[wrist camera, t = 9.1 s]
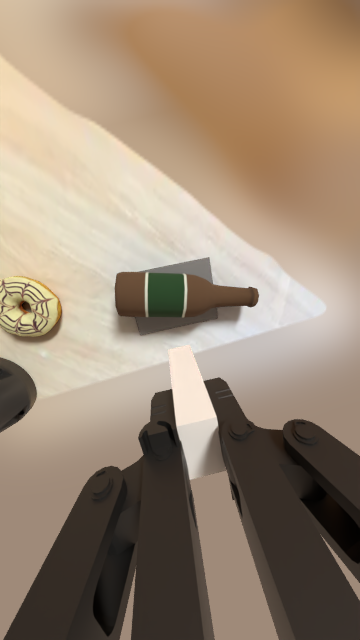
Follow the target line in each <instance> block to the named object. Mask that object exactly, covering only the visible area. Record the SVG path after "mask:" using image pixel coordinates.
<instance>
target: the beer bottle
mask: <svg viewBox="0 0 360 640" xmlns="http://www.w3.org/2000/svg"><path fill="white" fill-rule="evenodd" d="M258 297H259V294H258V290H257V289H256V288H252V287H249V288H238V287H227V286H218V285H214V284H212V283H210V282H209V281H208V280H206V279H204V278H201V277H199V276H196V275H191V274H177V273H150V272H121V273H118V274H117V276H116V283H115V302H116V308H117V311H118V314H119V315H120V316H128V317H195V316H198V315H201V314H204V313H205V312H207V311H208V310H210V309H211V308H216V307H226V306H248V307H253V306H255V305H256V304H257V303H258Z"/></svg>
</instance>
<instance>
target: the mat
mask: <svg viewBox="0 0 360 640" xmlns="http://www.w3.org/2000/svg"><path fill="white" fill-rule="evenodd" d="M140 272H150V273H177V274H191V275H196V276H199V277H201V278H204V279H206V280H208V281H209V282H210V283H212V284H213V280H212V273H211V266H210V259H209V257H208V258H203V259H198V260H194V261H189V262H184V263H179V264H174V265H169V266H164V267H159V268H154V269H150V270H145V271H140ZM135 318H136V321H137V325H138V329H139V332H140V335H143V334H148V333H152V332H157V331H162V330H166V329H171V328H175V327H180V326H185V325H189V324H194V323H198V322H203V321H207V320H212V319H217V318H218V315H217V308H211V309H210V310H208V311H207V312H205V313H204V314H201V315H198V316H195V317H135Z"/></svg>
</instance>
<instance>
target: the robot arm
mask: <svg viewBox="0 0 360 640" xmlns="http://www.w3.org/2000/svg"><path fill="white" fill-rule="evenodd" d="M168 354H169V363H170V372H171V382H172V389H170V390H166V391H162V392H158V393H155V395H154V397H153V399H152V400H151V417H150V422H149V423H148V424H146V425H145V426H144V427H143V429H142V430H141V432H140V434H139V437H138V438H139V442H140V445H141V447H142V451H143V454H144V455H143V456H142V457H141V458H140V459H139V460H138V461H137V462H135V463H134V464H132V465H131V466H129V467H127V468H126V469H124V470H122V471H121V470H120V469H119V468H118V467H114V466H109V467H104V468H102V469H101V470H99V471H97V472H96V473H95V474H94V475H93V476H91V477H90V478H89V480H88V481H87V483H86V484H85V486H84V487H83V489H82V491H81V493H80V495H79V497H78V499H77V501H76V502H75V504H74V506H73V508H72V510H71V512H70V514H69V516H68V518H67V520H66V521H65V523H64V525H63V527H62V529H61V531H60V533H59V535H58V537H57V539H56V540H55V542H54V544H53V546H52V548H51V550H50V552H49V554H48V556H47V558H46V559H45V561H44V563H43V565H42V567H41V569H40V571H39V573H38V575H37V577H36V578H35V580H34V582H33V584H32V586H31V588H30V590H29V592H28V594H27V596H26V598H25V599H24V602H23V603H22V605H21V607H20V609H19V611H18V613H17V615H16V617H15V619H14V620H13V622H12V624H11V626H10V628H9V630H8V632H7V634H6V636H5V637H4V640H119V639H120V635H121V630H122V626H123V621H124V617H125V613H126V608H127V604H128V599H129V594H130V590H131V586H132V581H133V577H134V573H135V568H136V577H135V592H134V605H133V619H132V634H131V640H215V639H214V633H213V626H212V619H211V612H210V606H209V599H208V592H207V586H206V579H205V572H204V566H203V559H202V552H201V546H200V540H199V532H198V526H197V519H196V513H195V506H194V499H193V494H192V490H191V486H190V480H191V479H195V478H198V477H202V476H206V475H210V474H214V473H218V472H222V471H226V470H227V473H228V476H229V481H230V487H231V493H232V499H233V500H235V503H236V506H237V508H238V512H239V515H240V518H241V522H242V525H243V528H244V531H245V534H246V537H247V540H248V544H249V547H250V550H251V553H252V556H253V559H254V562H255V566H256V569H257V572H258V575H259V578H260V581H261V584H262V588H263V591H264V594H265V597H266V600H267V603H268V606H269V610H270V612H271V616H272V619H273V622H274V625H275V628H276V632H277V634H278V638H279V640H360V601H359V599H358V597H357V596H356V594H355V592H354V591H353V589H352V587H351V586H350V584H349V582H348V581H347V579H346V577H345V575H344V574H343V572H342V570H341V569H340V567H339V565H338V564H337V562H336V560H335V558H334V557H333V555H332V553H331V552H330V550H329V549H328V547H327V545H326V543H325V542H324V540H323V538H324V539H325V540H326V542H327V543H328V544H329V545H330V547H331V548H332V549H333V550H334V552H335V553H336V554H337V555H338V557H339V558H340V559H341V560H342V561H343V563H344V564H345V565H346V566H347V568H348V569H349V570H350V571H351V573H352V574H353V575H354V576H355V578H356V579H357V580H358V581H359V583H360V456H359V455H357V454H356V453H355V452H353V451H352V450H350V449H349V448H348V447H347V446H345V445H344V444H342V443H341V442H340V441H338V440H337V439H336V438H334V437H333V436H332V435H330V434H329V433H327V432H326V431H325V430H323V429H322V428H321V427H319V426H317V425H315V424H314V423H312V422H309V421H306V420H300V419H299V420H298V419H294V420H291V421H288V422H287V423H286V424H285V425H284V427H283V430H271V429H263V428H260V427H257V426H255V425H254V424H253V422H251V421H249V420H248V419H247V418H246V417H245V415H244V413H243V411H242V409H241V408H240V406H239V404H238V402H237V400H236V399H235V397H234V396H233V393H232V392H231V390H230V388H229V386H228V384H227V383H226V382H225V381H224V380H222V379H221V378H215V379H210V380H206V381H203V379H202V377H201V374H200V371H199V368H198V366H197V363H196V361H195V358H194V355H193V353H192V350H191V347H190V345H186V346H182V347H177V348H173V349H168ZM35 399H36V388H35V385H34V382H33V380H32V379H31V377H30V376H29V374H28V373H27V372H26V371H25V370H24V369H23V368H21V367H20V366H18V365H17V364H15V363H13V362H11V361H9V360H6V359H3V358H0V432H2V431H4V430H5V429H7V428H8V427H10V426H12V425H13V424H15V423H16V422H18V421H19V420H21V419H22V418H23V417H24V416H25V414H27V412H28V411H29V410H30V409H31V408H32V406H33V404H34V403H35ZM225 467H226V468H225ZM320 534H321V535H320ZM321 536H322V537H323V538H322V537H321Z"/></svg>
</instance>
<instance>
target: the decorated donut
mask: <svg viewBox="0 0 360 640" xmlns="http://www.w3.org/2000/svg"><path fill="white" fill-rule="evenodd" d="M24 301H27V302H28V303H29V304H30V306H31V310H32V312H31V313H30V312H27V311H25V310H24V309H23V307H22V303H23V302H24ZM61 313H62V310H61V305H60V302H59V298H58V297H57V296H56V295H55V294H54V293H53V292H52V291H51V290H50V289H49V288H48V287H47V286H45V285H44V284H42V283H41V282H39V281H36V280H33V279H30V278H27V277H22V276H14V277H8V278H6V279H3V280H0V326H1V327H2V328H3V329H4V330H5V331H6V332H8V333H11V334H16V335H18V336H41V335H44V334H46V333H47V332H48V331H50V330H51V329H52V327H53V326H54V325H55V324H56V323H57V322H58V320H59V318H60V316H61Z"/></svg>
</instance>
